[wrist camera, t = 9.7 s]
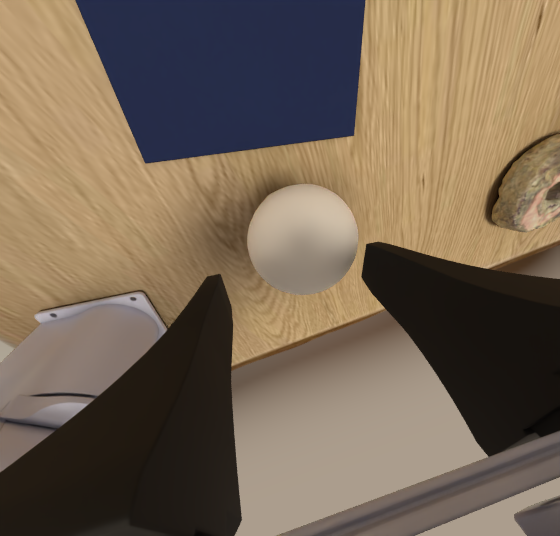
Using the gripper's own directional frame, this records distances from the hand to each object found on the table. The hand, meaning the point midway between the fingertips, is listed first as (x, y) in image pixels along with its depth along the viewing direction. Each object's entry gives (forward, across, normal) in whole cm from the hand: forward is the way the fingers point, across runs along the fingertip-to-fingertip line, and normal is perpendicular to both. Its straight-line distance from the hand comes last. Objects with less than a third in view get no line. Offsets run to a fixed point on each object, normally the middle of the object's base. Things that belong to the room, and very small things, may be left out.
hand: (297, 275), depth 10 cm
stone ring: (+8, -31, +7) cm, 33 cm away
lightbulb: (+10, -1, -1) cm, 10 cm away
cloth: (+10, 0, -10) cm, 14 cm away
